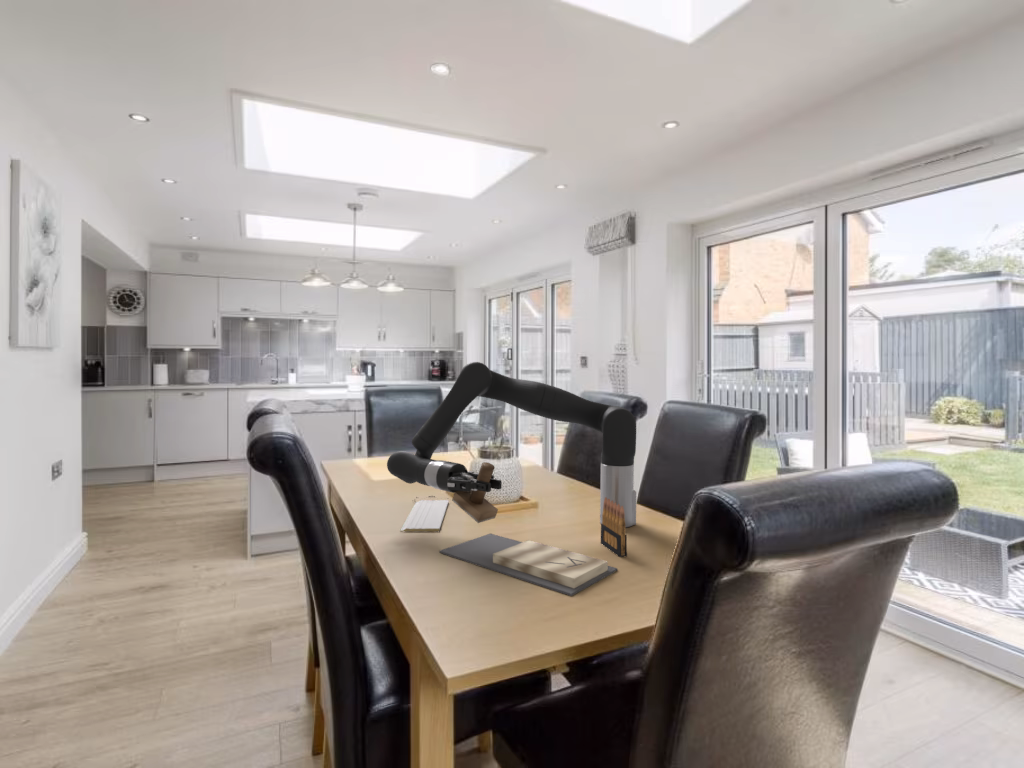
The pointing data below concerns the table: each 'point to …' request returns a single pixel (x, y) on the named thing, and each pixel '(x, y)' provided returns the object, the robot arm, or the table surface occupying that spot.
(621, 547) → the ammunition clip
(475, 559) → the rubber mat
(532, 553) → the pine board
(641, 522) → the table surface
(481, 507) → the sanding block
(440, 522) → the baseboard molding
